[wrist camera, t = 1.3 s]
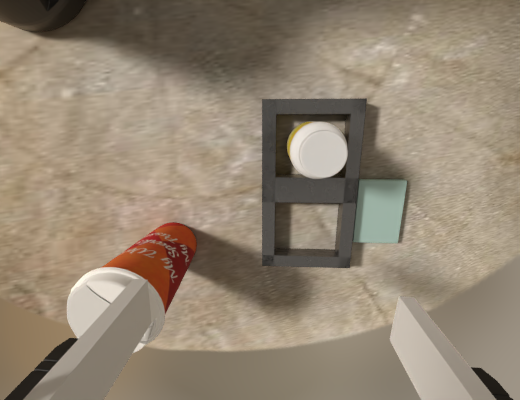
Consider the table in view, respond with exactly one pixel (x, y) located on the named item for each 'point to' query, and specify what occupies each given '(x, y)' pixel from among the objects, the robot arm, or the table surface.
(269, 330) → the table surface
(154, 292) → the coffee cup
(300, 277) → the table surface
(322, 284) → the table surface
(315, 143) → the supplement bottle
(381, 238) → the mat
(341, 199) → the grey rectangular frame
